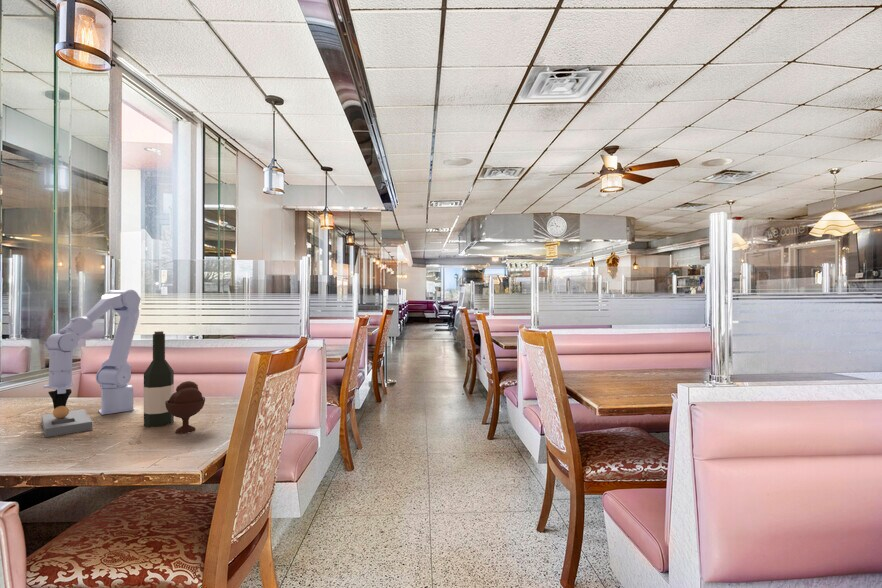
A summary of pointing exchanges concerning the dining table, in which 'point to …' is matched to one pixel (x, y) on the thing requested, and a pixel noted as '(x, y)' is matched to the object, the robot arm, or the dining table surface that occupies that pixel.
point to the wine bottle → (158, 386)
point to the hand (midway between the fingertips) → (59, 412)
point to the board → (66, 423)
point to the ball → (60, 412)
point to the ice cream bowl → (185, 404)
